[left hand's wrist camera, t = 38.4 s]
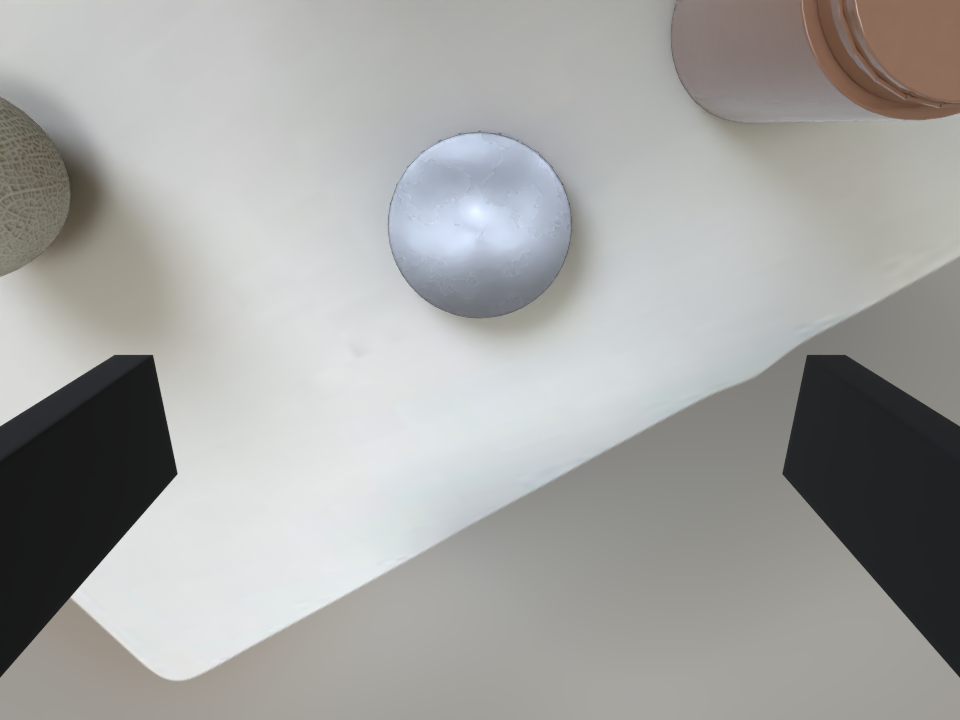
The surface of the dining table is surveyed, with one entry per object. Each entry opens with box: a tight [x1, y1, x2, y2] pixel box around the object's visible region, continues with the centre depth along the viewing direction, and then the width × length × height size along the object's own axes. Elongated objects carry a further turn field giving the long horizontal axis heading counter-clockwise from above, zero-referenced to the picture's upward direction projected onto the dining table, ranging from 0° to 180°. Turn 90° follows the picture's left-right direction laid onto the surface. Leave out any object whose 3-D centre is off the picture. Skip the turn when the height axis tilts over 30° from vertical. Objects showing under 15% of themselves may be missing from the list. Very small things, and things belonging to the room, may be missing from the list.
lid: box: [388, 131, 572, 318], centre depth 37 cm, size 11×11×2 cm
